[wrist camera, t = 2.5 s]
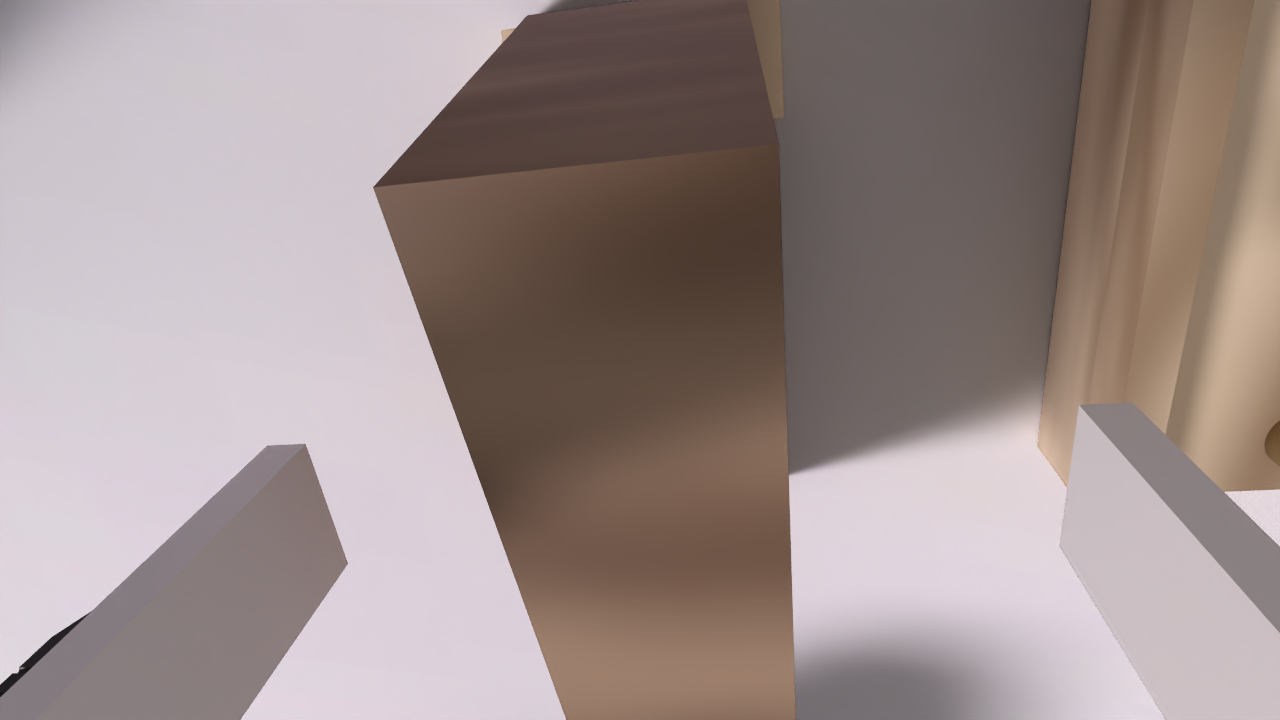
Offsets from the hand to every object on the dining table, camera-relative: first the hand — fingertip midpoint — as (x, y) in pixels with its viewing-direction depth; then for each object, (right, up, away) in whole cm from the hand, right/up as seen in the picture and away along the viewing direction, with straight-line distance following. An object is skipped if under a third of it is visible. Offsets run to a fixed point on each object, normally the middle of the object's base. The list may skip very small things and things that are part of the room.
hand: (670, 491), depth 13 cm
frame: (0, +4, +6) cm, 8 cm away
